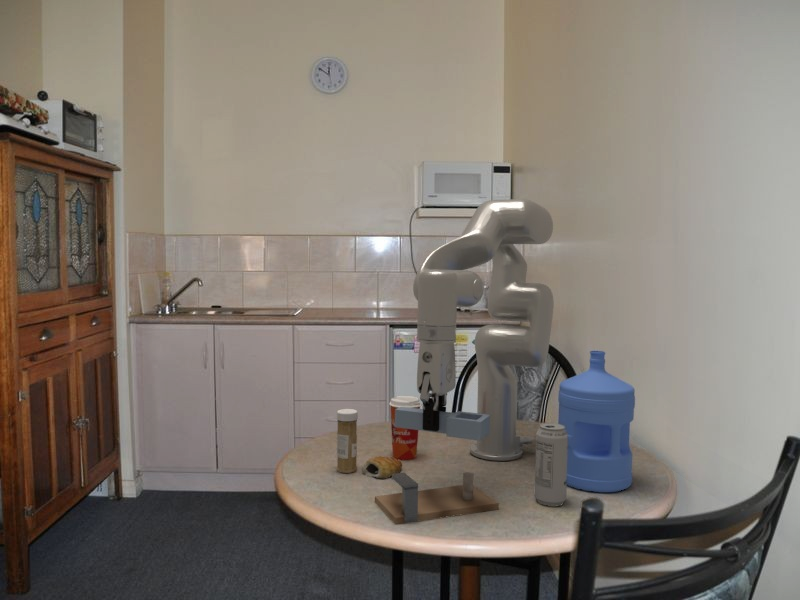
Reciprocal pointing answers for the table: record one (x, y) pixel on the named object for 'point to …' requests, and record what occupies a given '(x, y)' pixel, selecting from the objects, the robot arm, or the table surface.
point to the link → (446, 423)
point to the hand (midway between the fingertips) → (434, 427)
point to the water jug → (597, 428)
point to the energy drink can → (551, 464)
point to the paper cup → (404, 430)
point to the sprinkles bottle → (347, 440)
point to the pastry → (382, 467)
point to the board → (440, 501)
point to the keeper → (408, 496)
